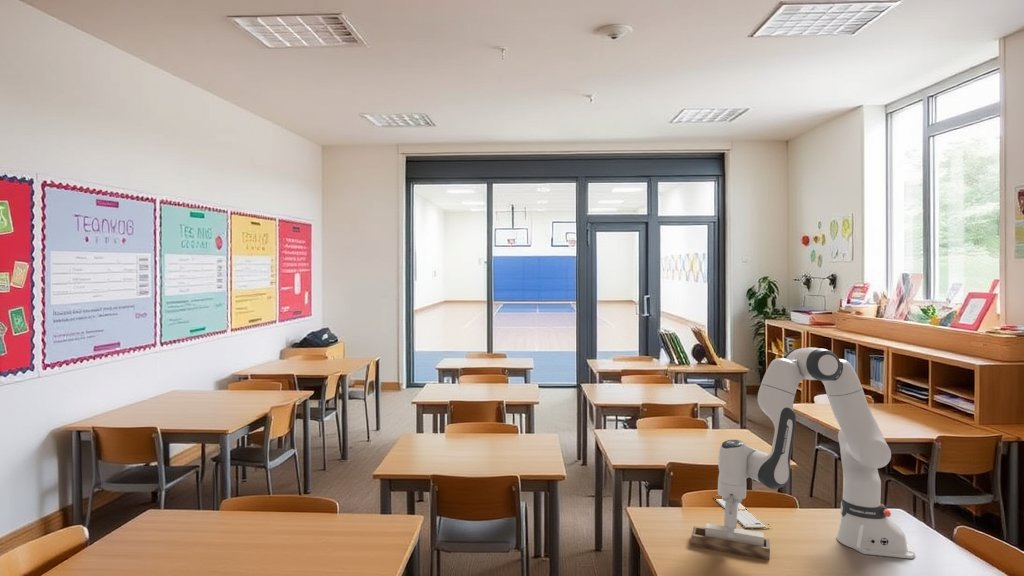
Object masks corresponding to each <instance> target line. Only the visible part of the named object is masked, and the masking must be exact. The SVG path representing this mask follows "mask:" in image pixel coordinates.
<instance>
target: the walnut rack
mask: <svg viewBox="0 0 1024 576" xmlns="http://www.w3.org/2000/svg"><path fill="white" fill-rule="evenodd" d="M690 537H691V538H690V539H691V540H690V541H691V543H690V546H691V547H698V548H704V549H708V550H715V551H719V552H723V553H729V552H730V554H736V555H740V554H741V555H742V556H747V557H750V558H757V559H763V560H767V561H769V560H770V559H771V558H770V556H771V555H770V553H771V549H770V548H771V546H770V545H771V544H770V543H771V542H770V538H767V537H766V538H765V537H764V547H763V546H757V545H752V544H746V543H740V542H735V541H729V540H723V539H718V538H712V537H706V536H705V527H700V526H695V525H693V528H692V531H691V536H690Z"/></svg>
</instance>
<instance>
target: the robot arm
mask: <svg viewBox="0 0 1024 576" xmlns="http://www.w3.org/2000/svg"><path fill="white" fill-rule="evenodd" d="M761 380H762V381H761V383H760V387H759V389H758V392H757V404H758V406H759V408H760V410H761V411H762V412H763V413H764V414H765V415H766V416H768V418H769V419H770V420H771V422H772V423H773V427H774V434H773V439H772V446H771V450H770V453H767V452H764V451H763V450H760V449H757V448H756V447H751V446H750V445H748V444H746V443H745V442H744V441H743V440H739V439H728V440H724V441H723V442H722V443H721V444H720V448H719V451H718V465H717V466H718V471H719V473H718V478H717V495H718V496H722V500H723V501H725V509H724V519H723V520H724V521H723V523H724V525H723V526H725V527H727V531H728V537H729V538H733V536H734V529H736V528H737V525H738V521H737V513H738V504H739V503H740V504H742V502H743V500H745V499H746V497H747V479H749V478H751V479H752V480H755V481H757V482H759V483H760V484H762V485H764V486H766V488H769V489H771V490H778V489H780V488H782V487H784V486H785V485H786V484H787V483H788V482H789V479H790V476H791V458H792V456H791V455H792V451H793V444H794V439H795V431H796V423H797V419H796V413H795V411H794V402H795V401H794V400H795V397H796V393H797V390H798V386H799V385H800V383H801V382H802V381H803V380H807V381H821V383H822V384H823V385H824V390H825V392H826V395H827V398H828V402H829V405H830V408H831V410H832V413H833V415H834V418H835V420H836V422H837V423H838V425H839V427H840V430H839V431H838V434H837V439H838V443H839V450H840V459H841V466H842V476H843V477H842V479H843V481H842V482H843V485H842V497H841V501H840V515H841V518H840V524H839V528H838V531H837V534H836V536H835V538H836V540H837V541H838V542H840V544H842V545H844V546H846V547H848V548H851V549H853V550H855V551H857V552H859V553H861V554H864V555H870V556H871V555H872V556H881V557H882V556H883V557H890V558H891V557H892V558H899V559H900V558H902V559H914V558H915V556H916V554H915V550H914V548H913V547H912V545H911V544H910V543H909V542H908V541H907V538H906V534H905V532H904V531H903V529H902V528H901V526H899V525H898V524H897V523H895V522H894V521H893V520H892V519H891V518H890V517H891V516H892V513H891V510H889V509H888V508H887V507H886V505H884V504H883V503H881V495H882V494H881V491H882V489H881V488H882V480H881V478H880V475H879V470H878V469H881V468H884V467H886V466H887V465H888V464H889V462H890V461H891V458H892V451H891V448H890V447H889V445H888V443H887V441H886V439H885V437H884V434H883V433H882V431H881V429H880V427H879V425H878V423H877V421H876V419H875V417H874V415H873V413H872V411H871V409H870V406H869V404H868V401H867V397H866V395H865V392H864V389H863V386H862V384H861V381H860V379H859V376H858V374H857V373H856V371H855V368H854V367H853V365H852V364H851V363H850V362H849V361H848V360H846V359H844V358H839V357H838V355H836V353H834V352H833V351H831V350H830V349H829V350H828V348H827V349H826V348H818V347H809V346H808V347H796V348H793V349H791V350H789V351H788V352H787V353H786V354H785V355H784V357H777V358H775V359H773V360H772V361H771V362H770V363H769V365H768V367H767V369H766V371H765V373H764V375H763V378H762V379H761Z"/></svg>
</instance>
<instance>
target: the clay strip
mask: <svg viewBox="0 0 1024 576" xmlns="http://www.w3.org/2000/svg"><path fill="white" fill-rule="evenodd" d="M704 528H705V536H706V537H712V538H718V539H723V540H729V541H735V542H740V543H746V544H752V545H757V546H763V547H764V538H765V534H764V533H765V532H762V531H757V530H756V531H755V530H751V529H745V528H744V529H743V528H737V527H736V529H734V536H733V538H729V537H728V531H727V527H725V525H719V524H714V523H706V524H705V527H704Z"/></svg>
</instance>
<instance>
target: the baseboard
mask: <svg viewBox="0 0 1024 576" xmlns="http://www.w3.org/2000/svg"><path fill="white" fill-rule="evenodd" d="M715 502H717V503H718V504H719V505H720V506H721V507H722V508H723V509H724V508H725V501H723V500H722V499H716V500H715ZM738 508H739V509H745V508H746V507H745V506H744V505H743V504H742V503H739V504H738ZM747 510H748V509H747ZM747 510H745V511H742V510H740V511H738V513H737V520H738V521H739V522H740V523H741V524H742V525H743V526H744V527H745V528H767V527H768V526H770V524H769V523H768V524H765V525H766V526H767V527H765V525H763V524H764V523H763V522H762V521H761V520H760V519H759V520H760V521H761V522H762V523H763V524H762V523H761V522H760V521H759V520H757V519H756V518H755V517H756V516H755V515H754V514H753V513H752V512H751V513H752V514H753V515H754V516H755V517H754V516H753V515H752V514H751V513H749V512H748V511H747ZM738 521H737V522H738ZM739 522H738V523H739ZM740 523H739V524H740ZM741 524H740V525H741ZM742 525H741V526H742ZM743 526H742V527H743ZM744 527H743V528H744ZM745 528H744V529H745Z"/></svg>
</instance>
